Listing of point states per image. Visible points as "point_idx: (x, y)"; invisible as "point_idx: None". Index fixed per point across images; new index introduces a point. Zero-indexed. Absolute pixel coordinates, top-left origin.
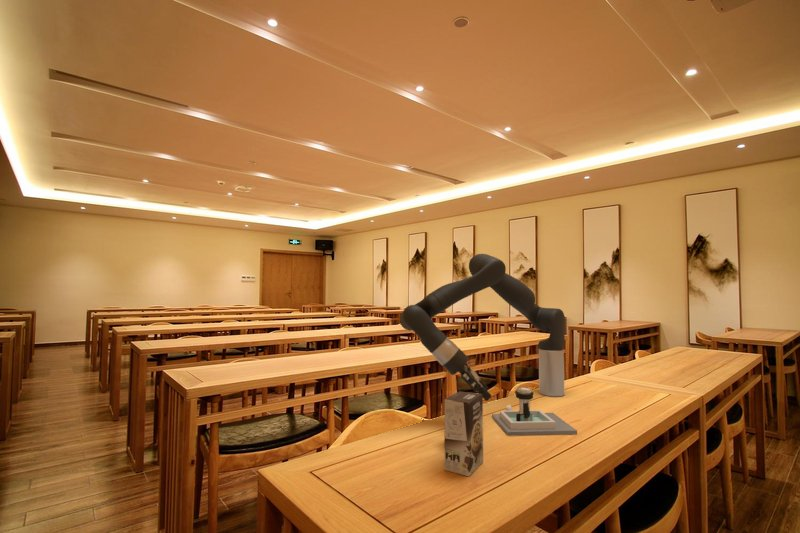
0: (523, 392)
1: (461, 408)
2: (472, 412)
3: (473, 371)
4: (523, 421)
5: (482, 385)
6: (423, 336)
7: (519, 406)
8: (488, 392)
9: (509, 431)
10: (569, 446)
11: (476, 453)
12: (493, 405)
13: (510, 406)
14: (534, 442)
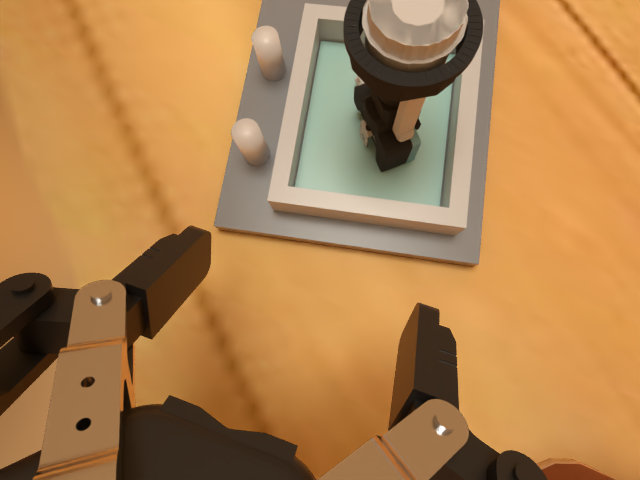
0: (455, 39)
1: None
2: None
3: (121, 442)
4: (455, 157)
5: (178, 278)
6: None
7: (403, 119)
8: (430, 329)
9: (473, 252)
10: (616, 78)
11: None
12: (60, 148)
13: (259, 128)
14: (563, 189)
